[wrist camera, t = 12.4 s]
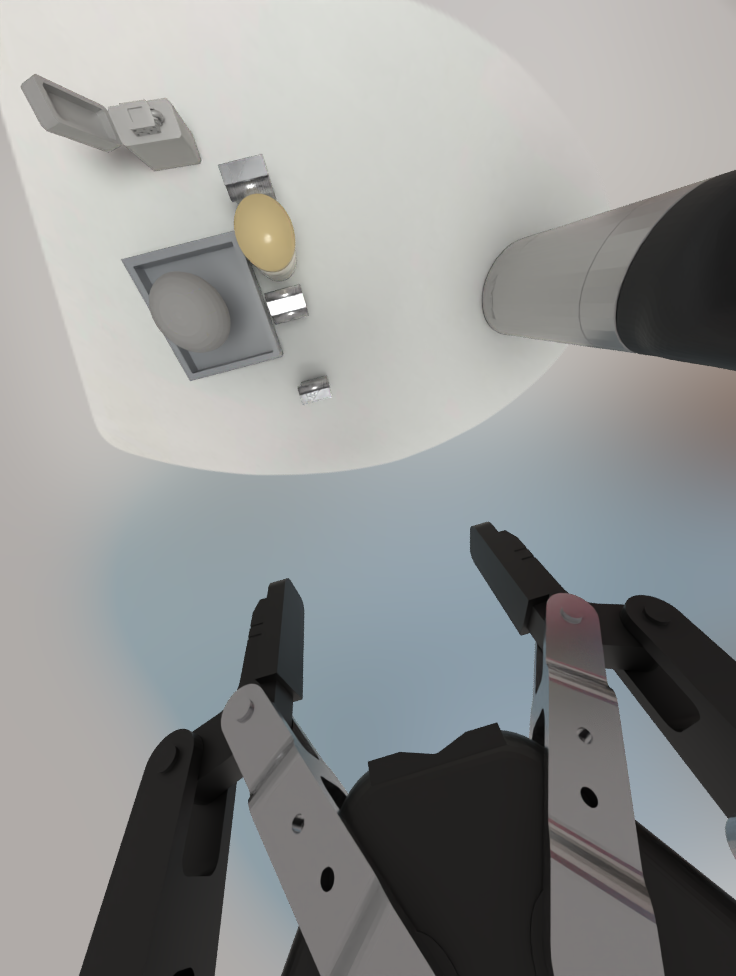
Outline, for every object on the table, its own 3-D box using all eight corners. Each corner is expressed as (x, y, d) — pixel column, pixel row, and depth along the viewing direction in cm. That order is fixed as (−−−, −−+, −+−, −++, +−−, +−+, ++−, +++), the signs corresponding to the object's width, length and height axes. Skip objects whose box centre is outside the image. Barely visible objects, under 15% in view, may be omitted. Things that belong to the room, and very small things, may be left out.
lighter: (191, 130, 22) (140, 55, 15) (202, 162, 23) (158, 105, 16) (100, 145, 22) (8, 75, 15) (115, 177, 23) (35, 124, 16)
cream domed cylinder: (283, 218, 26) (275, 182, 19) (305, 271, 28) (305, 256, 21) (242, 238, 26) (220, 209, 19) (267, 289, 28) (256, 280, 21)
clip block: (271, 184, 24) (262, 153, 19) (328, 383, 34) (332, 396, 29) (236, 193, 24) (217, 164, 19) (304, 390, 34) (302, 404, 29)
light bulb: (183, 328, 28) (131, 337, 20) (190, 267, 26) (135, 248, 18) (240, 352, 30) (213, 368, 22) (251, 297, 28) (226, 293, 20)
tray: (241, 236, 26) (235, 230, 24) (283, 353, 32) (281, 356, 29) (136, 263, 25) (121, 259, 23) (197, 376, 31) (190, 381, 29)
